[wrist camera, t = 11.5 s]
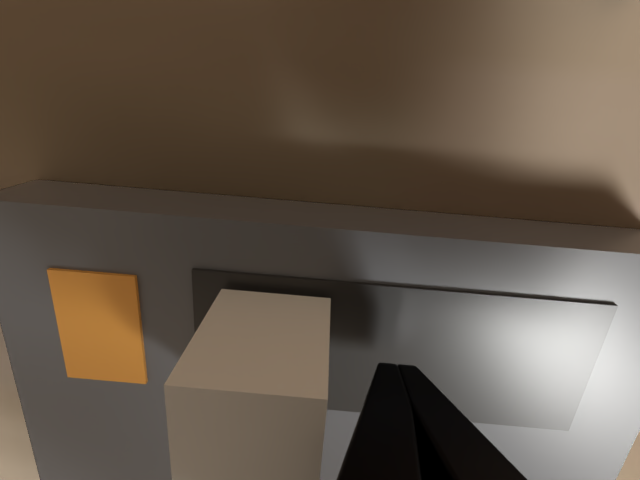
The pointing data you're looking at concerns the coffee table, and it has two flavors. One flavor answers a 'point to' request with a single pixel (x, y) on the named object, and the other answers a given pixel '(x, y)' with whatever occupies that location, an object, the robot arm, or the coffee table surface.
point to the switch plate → (345, 319)
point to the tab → (251, 390)
